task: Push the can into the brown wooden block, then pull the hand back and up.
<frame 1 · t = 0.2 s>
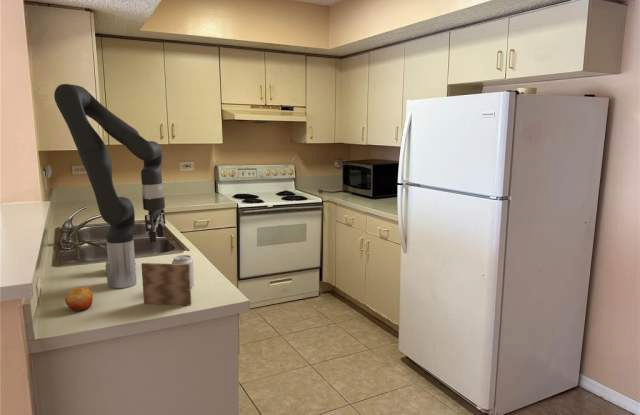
hand: (157, 239, 166), 18 cm above the worktop, tool pointing down, fingers open, 8 cm apart
coffee pot: (108, 273, 184), on the worktop
can: (184, 288, 167), on the worktop
fruit: (80, 309, 148), on the worktop
brown wooden block: (175, 296, 159), on the worktop
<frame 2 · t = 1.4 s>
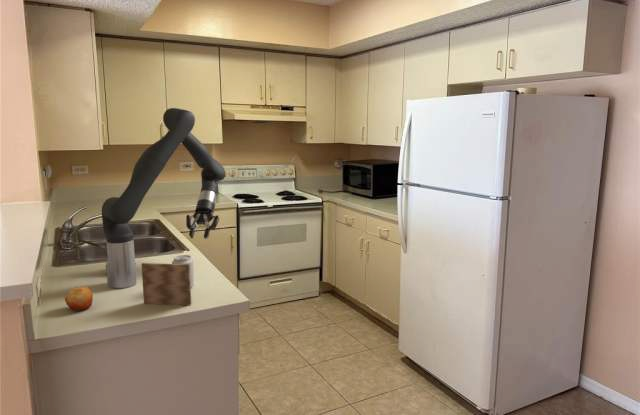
hand: (198, 237, 182), 15 cm above the worktop, tool tilted 45°, fingers open, 5 cm apart
nothing on the worktop moved.
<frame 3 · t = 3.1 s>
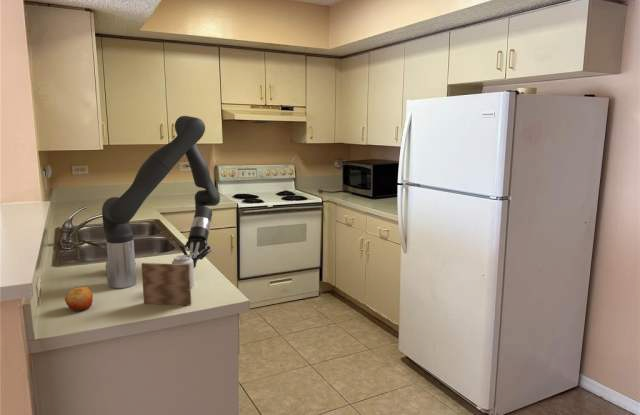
hand: (191, 268, 175), 5 cm above the worktop, tool tilted 45°, fingers closed
nothing on the worktop moved.
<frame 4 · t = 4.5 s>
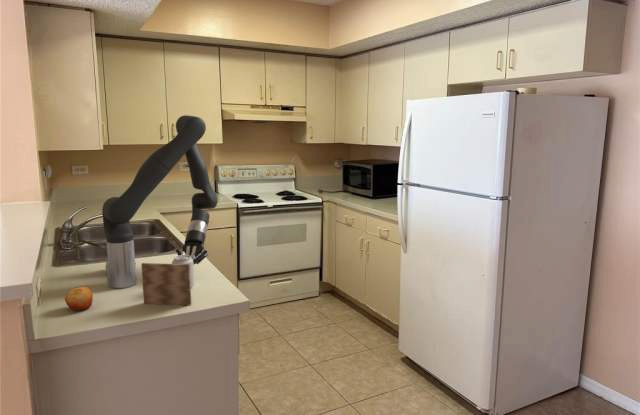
hand: (187, 272, 171), 4 cm above the worktop, tool tilted 45°, fingers closed
can: (184, 288, 167), on the worktop, touching gripper
everything else where it was.
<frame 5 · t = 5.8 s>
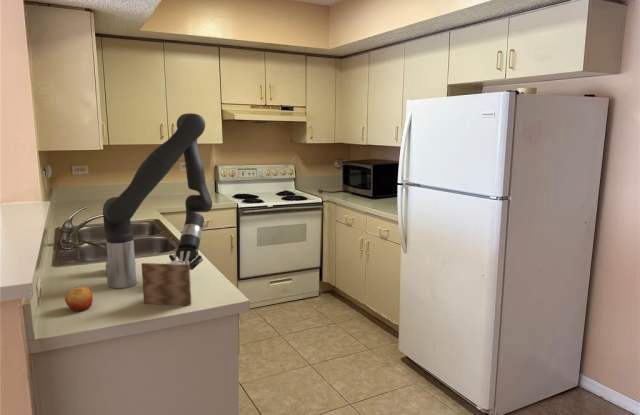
hand: (181, 279, 164), 4 cm above the worktop, tool tilted 45°, fingers closed
can: (177, 295, 160), on the worktop, touching gripper
everything else where it was.
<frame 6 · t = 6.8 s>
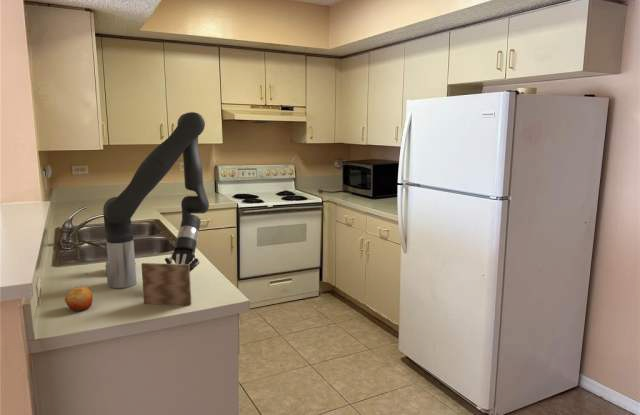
hand: (177, 283, 160), 4 cm above the worktop, tool tilted 45°, fingers closed
can: (173, 299, 156), on the worktop, touching gripper, brown wooden block
everything else where it was.
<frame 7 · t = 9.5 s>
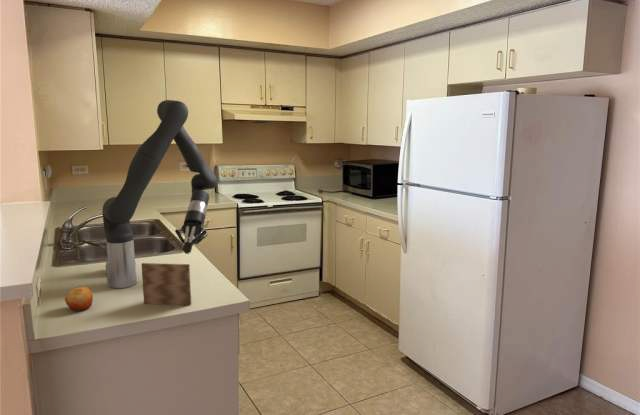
hand: (186, 252, 170), 12 cm above the worktop, tool tilted 45°, fingers closed
can: (173, 299, 156), on the worktop
everything else where it was.
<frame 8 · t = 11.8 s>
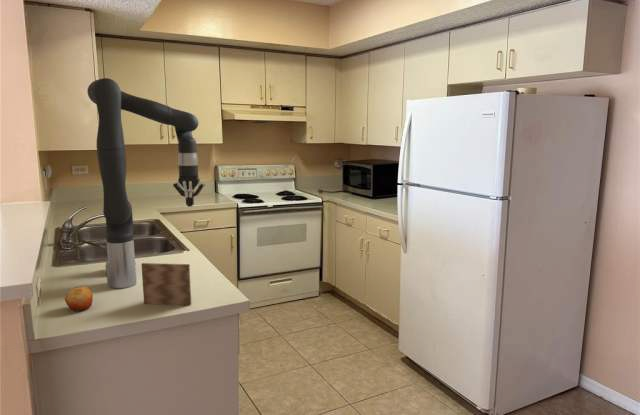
hand: (190, 206, 184), 27 cm above the worktop, tool pointing down, fingers closed
nothing on the worktop moved.
at the end: can 0.7 cm from the target spot, on the worktop; can tilted 0° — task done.
